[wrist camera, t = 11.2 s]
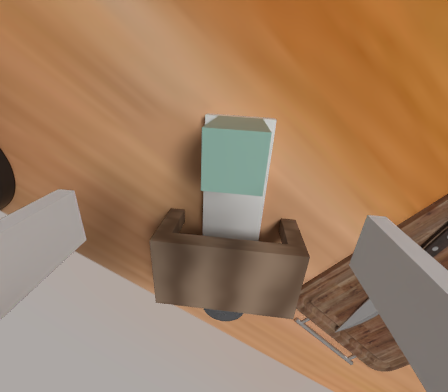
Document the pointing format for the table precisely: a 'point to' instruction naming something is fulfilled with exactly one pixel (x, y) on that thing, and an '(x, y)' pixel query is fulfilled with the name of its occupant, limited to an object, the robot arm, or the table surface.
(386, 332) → the chopping board
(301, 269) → the low shelf
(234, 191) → the white green long block
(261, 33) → the table surface
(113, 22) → the table surface
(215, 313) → the steel puck
